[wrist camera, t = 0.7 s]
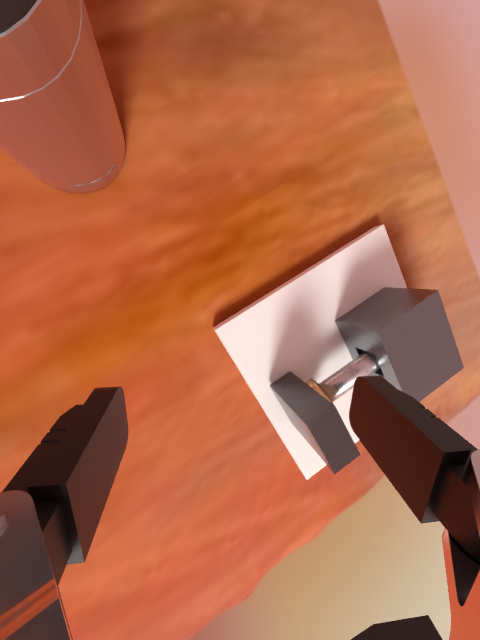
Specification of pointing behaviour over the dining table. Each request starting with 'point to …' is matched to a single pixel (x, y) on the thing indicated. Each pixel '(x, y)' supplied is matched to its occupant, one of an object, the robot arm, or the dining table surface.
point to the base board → (308, 330)
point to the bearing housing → (404, 338)
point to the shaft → (324, 409)
